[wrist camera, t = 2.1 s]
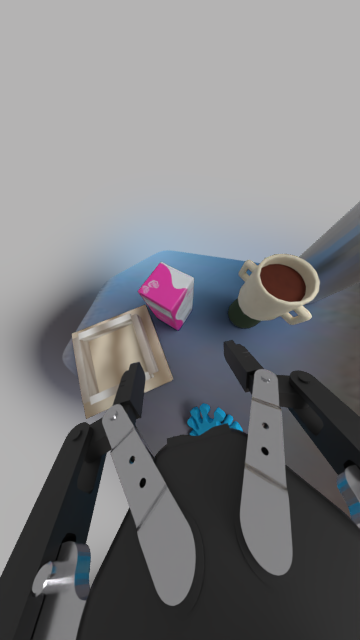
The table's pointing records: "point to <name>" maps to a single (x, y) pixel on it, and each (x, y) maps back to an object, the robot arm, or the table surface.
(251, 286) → the character mug
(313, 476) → the table surface
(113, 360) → the plate
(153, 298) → the supplement box
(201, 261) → the table surface
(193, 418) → the gear
